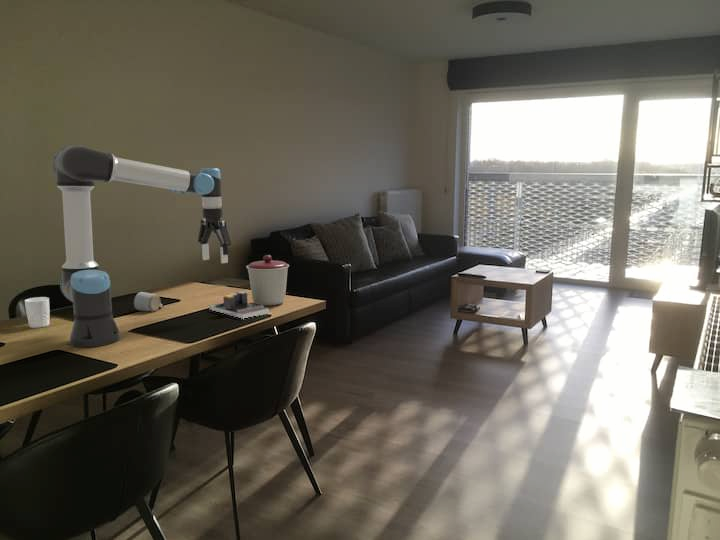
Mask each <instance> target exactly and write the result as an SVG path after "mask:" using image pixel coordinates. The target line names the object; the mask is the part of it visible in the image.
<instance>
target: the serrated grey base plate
mask: <svg viewBox="0 0 720 540" xmlns="http://www.w3.org/2000/svg"><path fill="white" fill-rule="evenodd" d="M227 295H232V296H234V297H235V308H234V309H226V308H224V302H220V303H215V304H213V305H209V311H210V310H212V311H211V312H213V311H216V312H220V313H224V314H227V315H230V316H229V317H231V316H234V317H233V318H235V317H238V318H241V319H240V320H242V319H243V320H245V319H244V318H248V317H252V318H254V317H253V316H256V317H260V316H264V315H267V314H268V315H269V314H270V308H269V307H266V306H263V305H258V304H252V303H249V302H248V293H247V292H246V291H243V290H240V291H237V292H236V293H235V292H230V293H228V294H227ZM216 312H215V313H216ZM220 313H219V314H220ZM224 314H223V315H224ZM227 315H226V316H227ZM259 315H260V316H259ZM238 318H237V319H238ZM248 319H249V318H248Z"/></svg>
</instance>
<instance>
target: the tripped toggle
mask: <svg viewBox="0 0 720 540" xmlns="http://www.w3.org/2000/svg"><path fill="white" fill-rule="evenodd" d="M222 299H223V303H224V308H226V309H234V308H235V297H234V296H232V295H228V294H226V295H224V296H223V297H222Z"/></svg>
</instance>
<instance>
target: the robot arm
mask: <svg viewBox="0 0 720 540" xmlns="http://www.w3.org/2000/svg"><path fill="white" fill-rule="evenodd" d="M52 168H53V171H54V173H55V177H56V178H55V179H56V187H57V188H58V189H59V190H60V191H61V194H62V195H61V196H62V210H63V213H62V214H63V227H64V229H63V230H64V244H65V257H66V258H65V262H64V264H62V265H61V273H62V274H61V279H60V282H59V283H60V284H59V286H60V287H59V288H60V291H61V293H62V294H63V297H65V298H66V299H67V300H68V301H70V302H71V303H72V307H73V319H74V320H73V321H74V322H73V324H72V328H71V329H72V330H71V334H70V336H69V339H70V340H69V341H70V345H72V346H73V347H78V348H93V347H101V346H107V345H110V344H114V343H116V342H117V341H119V340H120V339H121V334H120V330H119V327H118V325H117V323H116V321H115V318H114V317H113V308H112V307H113V304H112V292H111V280H110V275H109V274H108V273H107V272H106V271H104V270H100V266H99V264H98V262H96V261H95V260H94V243H93V242H94V241H93V240H94V239H93V224H92V223H93V221H92V219H93V218H92V205H91V202H92V201H91V192H92V190H93V189H94V188H95V182H104V183H110V182H112V181H117V182H124V183H128V184H135V185H142V186H146V187H147V186H149V187H153V188H159V189H160V188H161V189H166V190H171V192H172V193H173V194H180V195H181V194H193V195H201V204H202V208H203V209H202V217H203V218H204V219H200V228H199V233H198V238H197V242H198V243H200V245H201V253H202V254H201V255H202V256H201V257H202V261H207V260H208V261H209V260H210V249H209V246H210V245H209V242H208V241H209V239H210V237H211V235H212V232H213V233H214V234H216V237H217V239H218V241H219V244H220V247H219V249H220V263H221V264H227V263H229V257H228V256H229V255H228V254H229V249H228V247H229V246H232V241H231V238H230V235H229V232H228V228H227V221H226V220H221V218H223V208H222V207H223V206H222V205H223V203H222V202H223V201H222V178H221V171H220V169H219V168H217V167H216V168H215V167H214V168H213V167H212V168H211V167H210V168H207V167H206V168H204V167H203V168H200V172H195V171H188V170H185V169H179V168H173V167H170V166H164V165H158V164H152V163H149V162H148V163H146V162H142V161H136V160H132V159H127V158H126V159H125V158H120V157H117V156H115V155H114V154H113V153H111V152H106V151H102V150H98V149H95V148H92V147H89V146H84V145H73V146H72V145H71V146H65V147H63V148H61V149H60V150H58V151H57V152H56V153H55V155H54V156H53V159H52Z"/></svg>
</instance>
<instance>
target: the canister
mask: <svg viewBox="0 0 720 540" xmlns="http://www.w3.org/2000/svg"><path fill="white" fill-rule="evenodd" d="M245 267H246V269H247V273H248V278H249V284H250V291H251V297H252V301H253V303H255V305H257V306H258V305H263V307H267V306H276V305H280V304H282V303H283V302H284V301H285V299H286V298H285V297H286V293H287V292H286V291H287V281H288V279H287V278H288V269H289V267H290V264H289V263H286V262H285V261H282V260H273V259H272V255H270V254H265V255H264V256H263V260H258V261H253V262H251V263H249V264H248V265H246V266H245Z"/></svg>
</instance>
